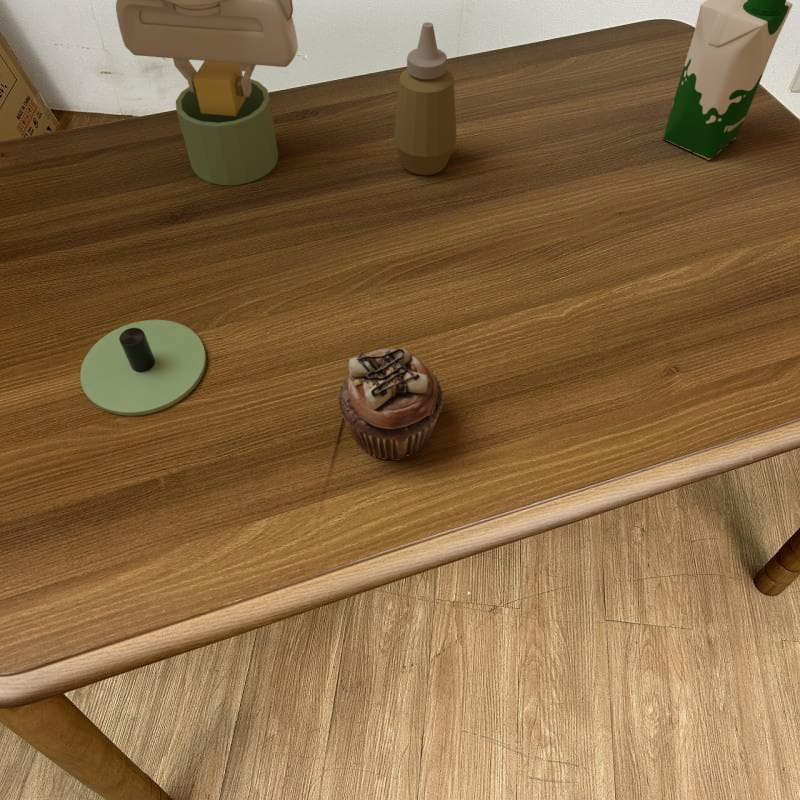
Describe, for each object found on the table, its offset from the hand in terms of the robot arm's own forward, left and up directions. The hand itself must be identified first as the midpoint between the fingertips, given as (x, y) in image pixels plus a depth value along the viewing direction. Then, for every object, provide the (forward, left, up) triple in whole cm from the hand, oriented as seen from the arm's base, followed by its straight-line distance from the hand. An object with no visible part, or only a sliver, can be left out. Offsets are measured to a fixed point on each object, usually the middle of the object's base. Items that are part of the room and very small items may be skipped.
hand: (221, 92), depth 91 cm
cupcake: (+28, -40, -10) cm, 50 cm away
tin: (0, 0, -10) cm, 10 cm away
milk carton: (+61, +14, -10) cm, 63 cm away
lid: (+2, -37, -9) cm, 38 cm away
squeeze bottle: (+25, +3, -10) cm, 27 cm away
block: (0, 0, -2) cm, 2 cm away
